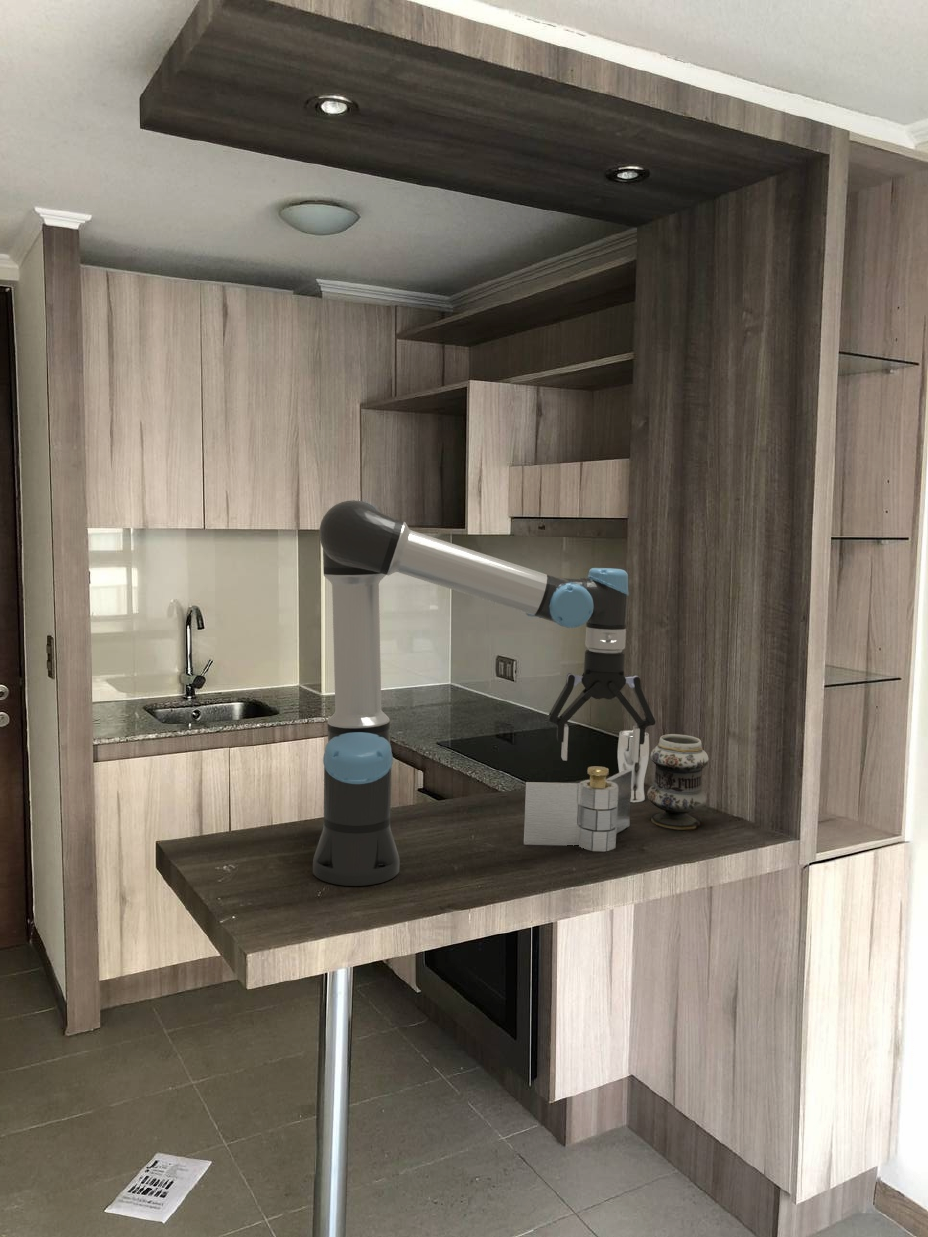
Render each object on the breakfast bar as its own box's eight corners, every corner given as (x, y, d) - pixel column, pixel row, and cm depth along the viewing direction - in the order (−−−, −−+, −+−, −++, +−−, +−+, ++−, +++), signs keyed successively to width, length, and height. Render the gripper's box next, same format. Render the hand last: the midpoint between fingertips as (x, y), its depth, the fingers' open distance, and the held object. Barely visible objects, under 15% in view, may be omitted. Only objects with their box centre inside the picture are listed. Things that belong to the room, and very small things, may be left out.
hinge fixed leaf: (525, 849, 186) (527, 788, 185) (522, 837, 193) (524, 778, 192) (617, 851, 186) (620, 790, 185) (611, 839, 193) (613, 779, 192)
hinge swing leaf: (605, 852, 185) (607, 791, 184) (571, 844, 189) (574, 785, 188) (642, 829, 199) (645, 772, 198) (610, 822, 203) (613, 766, 202)
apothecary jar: (697, 835, 197) (702, 748, 195) (639, 826, 202) (643, 740, 200) (710, 819, 208) (715, 736, 206) (654, 810, 213) (658, 729, 211)
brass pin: (586, 848, 188) (589, 771, 186) (583, 841, 192) (586, 766, 190) (607, 848, 188) (610, 771, 186) (603, 841, 192) (606, 766, 190)
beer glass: (642, 804, 217) (645, 738, 216) (611, 800, 220) (614, 734, 219) (650, 796, 224) (653, 732, 222) (620, 792, 227) (623, 728, 225)
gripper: (541, 650, 182) (536, 762, 184) (675, 654, 182) (668, 766, 185) (537, 645, 189) (532, 753, 191) (665, 649, 190) (659, 756, 192)
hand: (599, 760), depth 188 cm, fingers open, 13 cm apart
